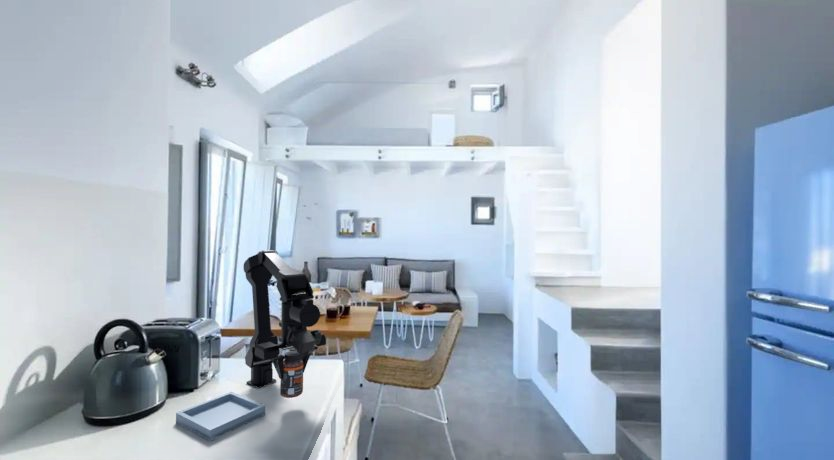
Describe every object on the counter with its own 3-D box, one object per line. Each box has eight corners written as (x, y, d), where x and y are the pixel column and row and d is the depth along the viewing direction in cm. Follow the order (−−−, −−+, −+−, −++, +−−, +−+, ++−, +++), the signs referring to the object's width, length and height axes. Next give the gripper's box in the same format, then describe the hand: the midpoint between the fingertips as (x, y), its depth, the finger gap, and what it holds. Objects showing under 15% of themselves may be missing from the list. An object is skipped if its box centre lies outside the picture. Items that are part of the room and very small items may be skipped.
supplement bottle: (296, 400, 105) (296, 357, 104) (275, 397, 106) (276, 355, 105) (306, 390, 110) (307, 350, 110) (287, 388, 112) (287, 348, 111)
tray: (175, 422, 99) (176, 412, 99) (231, 400, 112) (231, 391, 112) (209, 440, 91) (210, 430, 91) (265, 414, 104) (265, 405, 104)
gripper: (275, 331, 95) (274, 395, 96) (338, 318, 109) (337, 374, 110) (253, 323, 103) (253, 382, 103) (315, 311, 117) (314, 364, 117)
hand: (291, 375), depth 108 cm, fingers closed on supplement bottle, 6 cm apart
